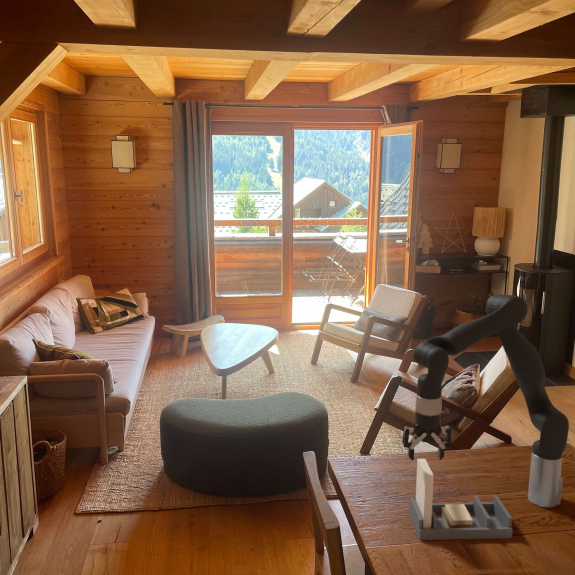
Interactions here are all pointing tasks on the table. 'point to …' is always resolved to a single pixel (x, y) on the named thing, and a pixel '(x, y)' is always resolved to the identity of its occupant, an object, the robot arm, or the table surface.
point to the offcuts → (456, 516)
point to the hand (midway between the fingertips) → (425, 458)
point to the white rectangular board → (424, 492)
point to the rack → (486, 524)
